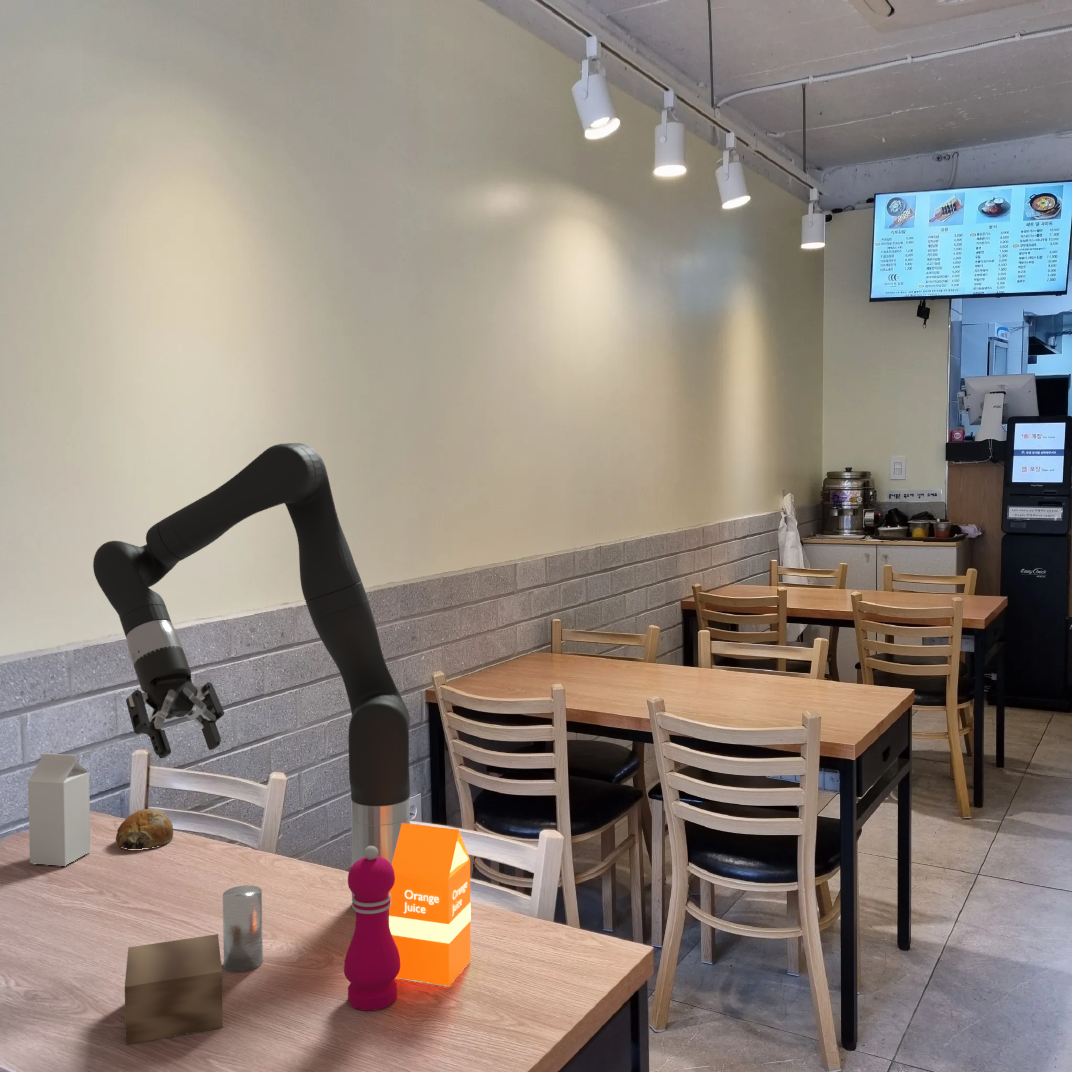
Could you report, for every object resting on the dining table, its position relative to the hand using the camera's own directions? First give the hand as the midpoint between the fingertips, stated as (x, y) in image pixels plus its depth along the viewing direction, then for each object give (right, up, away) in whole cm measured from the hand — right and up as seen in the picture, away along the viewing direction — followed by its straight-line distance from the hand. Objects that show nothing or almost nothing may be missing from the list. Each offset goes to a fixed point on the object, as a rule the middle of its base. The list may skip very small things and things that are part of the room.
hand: (191, 751), depth 149 cm
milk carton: (-34, -26, +30) cm, 52 cm away
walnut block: (+6, -28, -24) cm, 37 cm away
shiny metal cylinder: (+11, -27, -10) cm, 31 cm away
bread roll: (-22, -26, +38) cm, 51 cm away
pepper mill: (+30, -28, -20) cm, 46 cm away
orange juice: (+37, -28, -12) cm, 48 cm away
